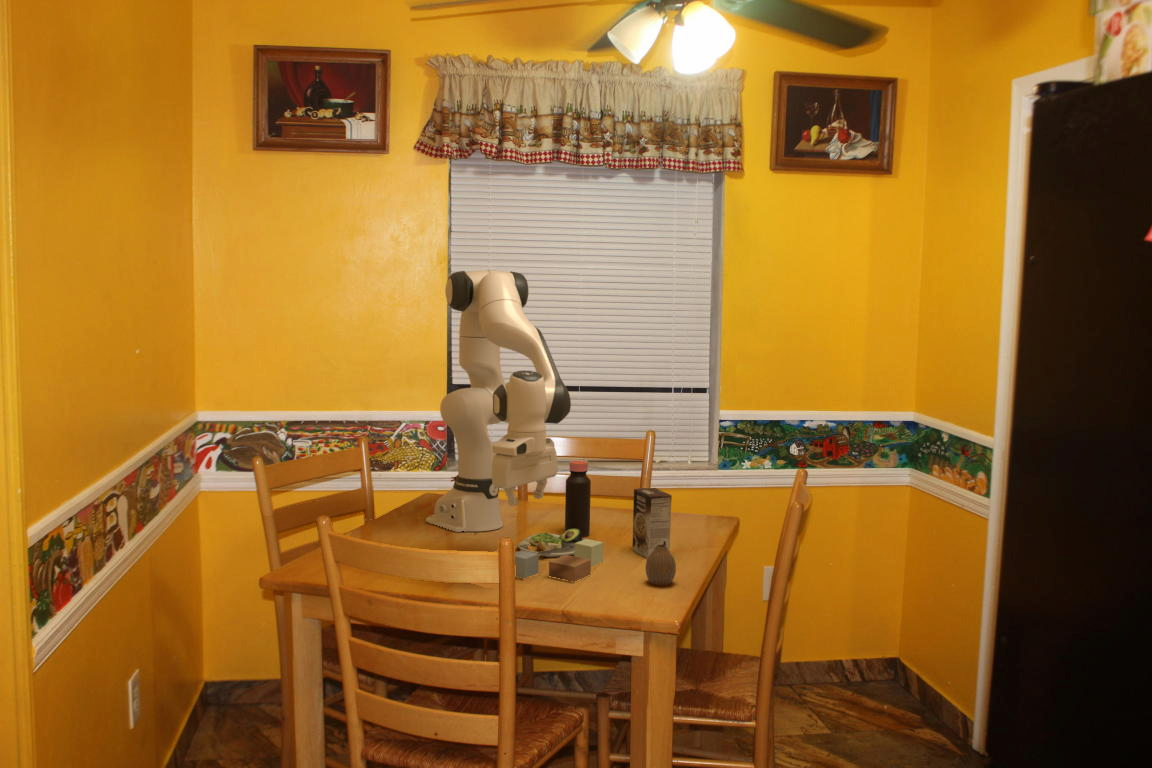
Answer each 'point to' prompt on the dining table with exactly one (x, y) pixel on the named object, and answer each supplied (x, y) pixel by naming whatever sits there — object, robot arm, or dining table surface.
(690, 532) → the dining table surface
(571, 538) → the salad plate
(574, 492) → the bottle
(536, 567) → the grey cube
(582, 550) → the green cube
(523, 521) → the dining table surface
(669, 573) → the brown rounded piece
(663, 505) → the coffee box
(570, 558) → the walnut base
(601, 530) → the dining table surface
